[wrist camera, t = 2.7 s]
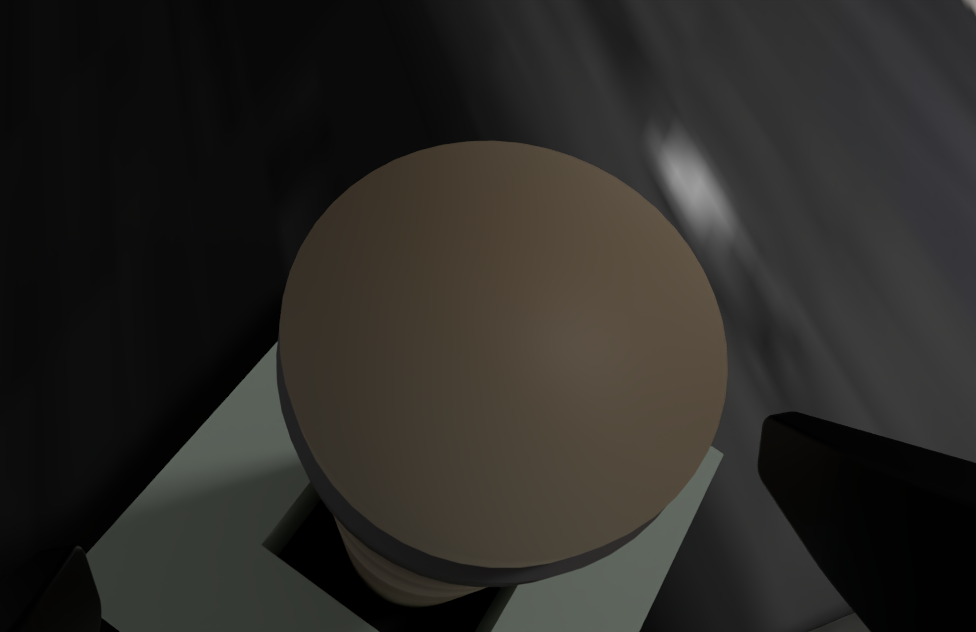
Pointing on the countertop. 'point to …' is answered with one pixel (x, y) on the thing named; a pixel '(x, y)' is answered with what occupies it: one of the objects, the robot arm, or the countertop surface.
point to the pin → (495, 368)
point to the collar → (279, 514)
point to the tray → (844, 625)
